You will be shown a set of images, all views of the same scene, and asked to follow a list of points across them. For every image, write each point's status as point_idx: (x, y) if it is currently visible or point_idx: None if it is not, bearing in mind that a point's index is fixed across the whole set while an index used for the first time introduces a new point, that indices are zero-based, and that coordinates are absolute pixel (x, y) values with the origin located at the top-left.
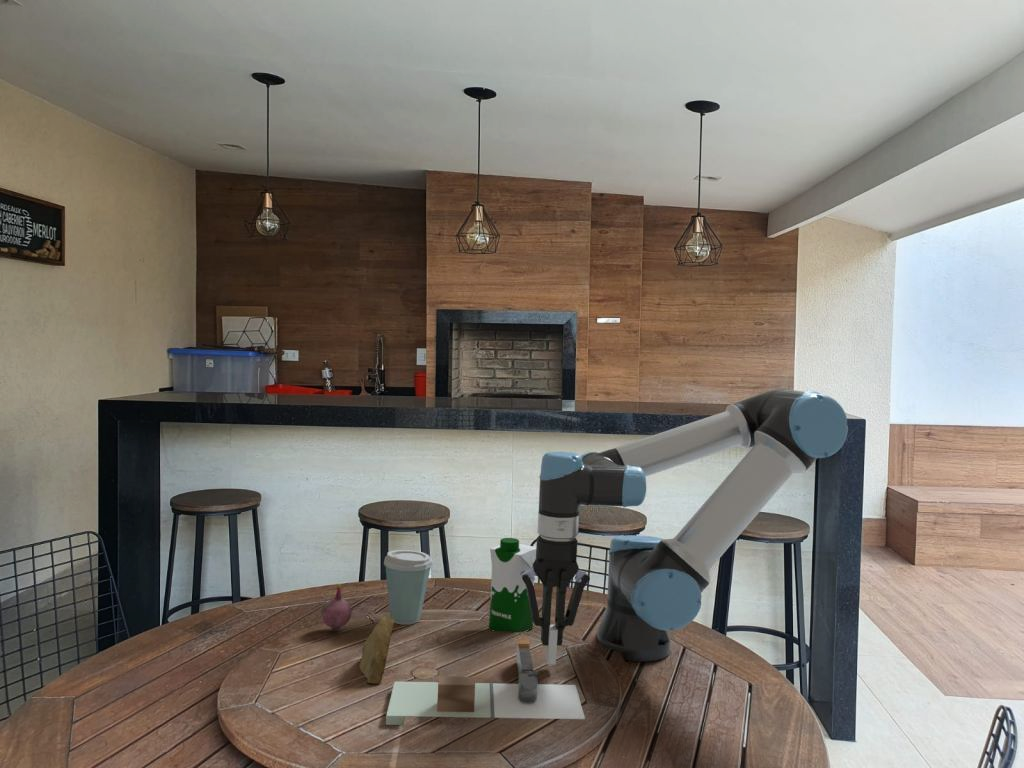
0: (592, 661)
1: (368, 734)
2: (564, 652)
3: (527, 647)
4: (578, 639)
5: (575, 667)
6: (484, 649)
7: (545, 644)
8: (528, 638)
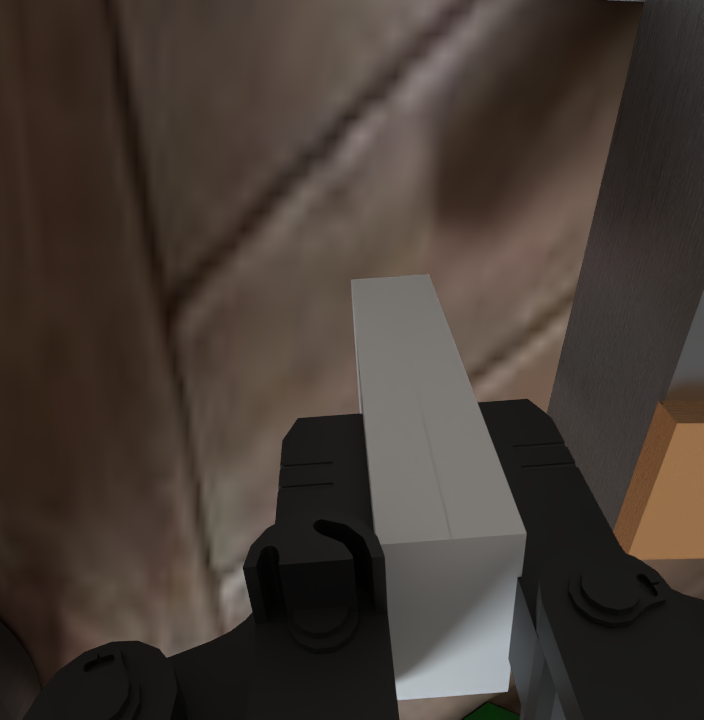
0: (55, 511)
1: None
2: (236, 596)
3: (690, 391)
4: None
5: (172, 433)
6: None
7: (502, 406)
8: (640, 541)
